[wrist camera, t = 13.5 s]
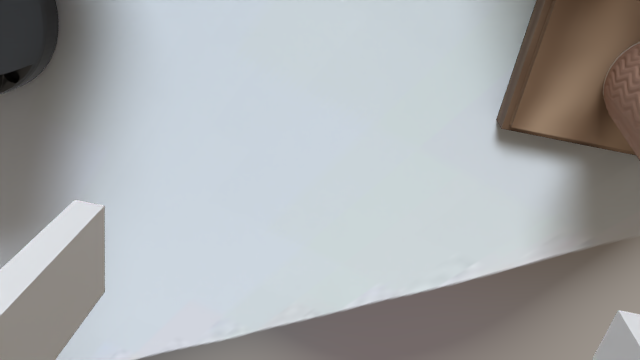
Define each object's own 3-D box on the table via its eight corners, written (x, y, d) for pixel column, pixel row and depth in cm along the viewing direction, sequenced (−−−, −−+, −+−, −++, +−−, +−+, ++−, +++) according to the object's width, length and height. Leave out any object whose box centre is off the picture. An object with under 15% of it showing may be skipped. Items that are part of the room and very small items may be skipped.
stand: (496, 119, 47) (503, 132, 45) (545, -27, 42) (556, -23, 39) (657, 151, 47) (674, 166, 44) (727, 8, 42) (751, 15, 39)
